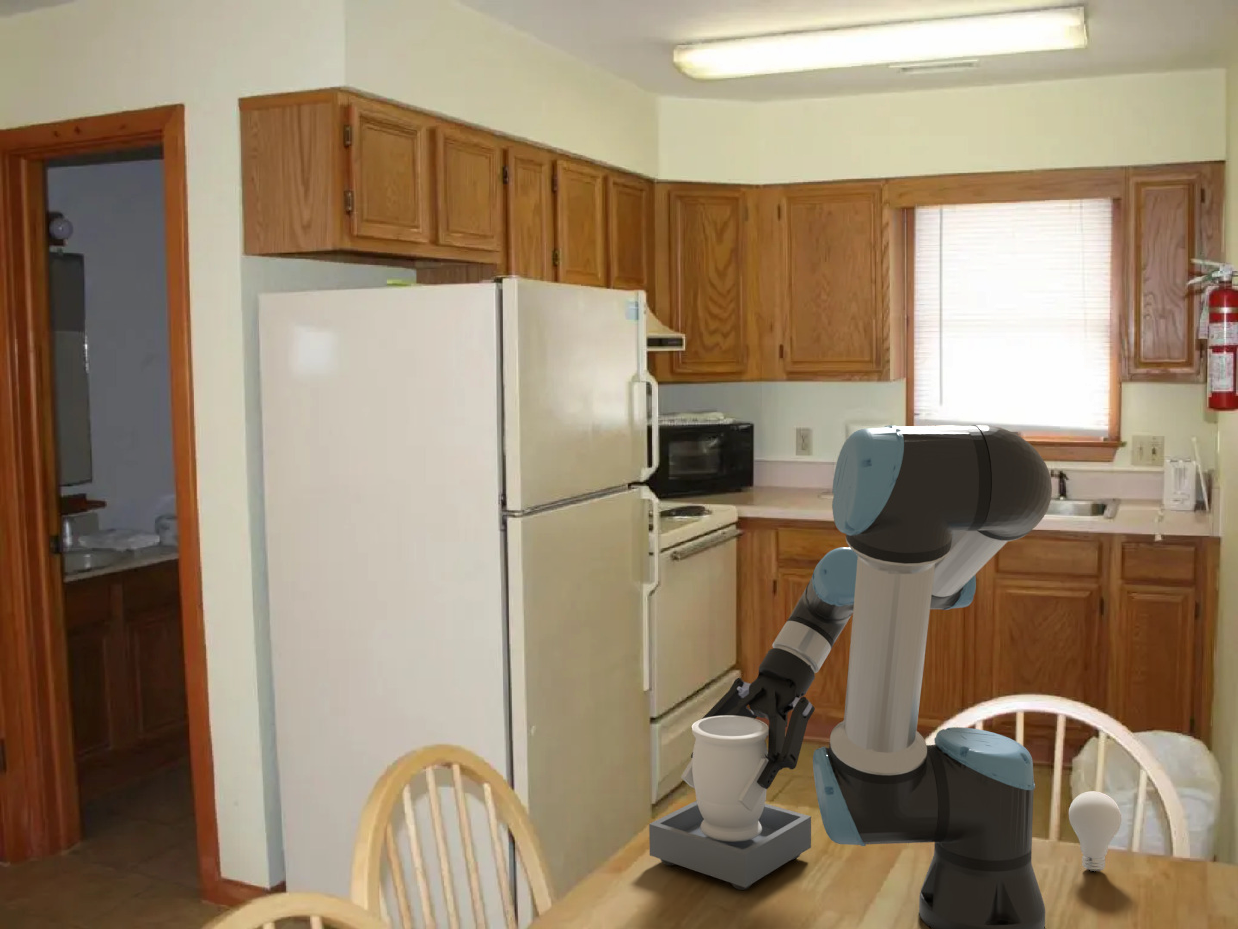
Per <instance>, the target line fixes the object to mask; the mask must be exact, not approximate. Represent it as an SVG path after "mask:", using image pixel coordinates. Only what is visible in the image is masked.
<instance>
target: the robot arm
mask: <svg viewBox="0 0 1238 929" xmlns="http://www.w3.org/2000/svg"><path fill="white" fill-rule="evenodd" d="M831 493H832V494H833V498H832V504H831V506H832V507H831V508H832V515H833V516H832V517H833V520H834V524H835V526H836V529H838V530H837V531H839V532H840V533H842V534H845V542H846V544H847V546H848V547H844V546H842V547H837V548H834V549H832V550H830V551H828V552H827V553H826V554H825V555H824V556H823V558H821V559H820V560H819V562H818V563H817V564H816V566H815V568H814V570H813V573H812V576H811V577H810V580H809V581H808V582H807V585H806V587H805V589H804V591H803V592H802V594H801V596H800V598H799V600H798V601H797V603H796V604H795V607H794V608H793V610H792V612H791V614H790V615H789V617H788V619H786V622H785V623H784V625H783V627H782V628H781V630H780V631H779V633H778V635H777V636H776V637H775V640H774V641H773V643H771V644H772V648H770V649H768V651H767V653H766V655H765V656H764V658H763V660H762V661H761V663H760V665H759V666H758V674H757V677H756V679H754V680H753V681H752V682H751V683H749V682H746V681H744V680H743V679H742V678H740V677H737V678H736V679H734V680H733V683H732V685H731V686H730V688H729V690H728V691H726V693H724V695H723V696H722V697H721V698H720V699H719V700H718V701H717V702H716V703H715V704H714V705H713V706H712V707H711V709H709V710H708V712H706V714H704V716H703V717H702V718H701V719H703V718H707V717H713V716H726V715H731V716H744V717H750V718H754V719H757V718H761V719H767V720H768V729H769V734H768V738H767V739H768V742H767V744H768V745H767V750H768V754H767V756H768V757H767V756H766V755H765V757H766V758H767V759H768V760H769V761H768V762H767V760H766V759H763V758H761V760H760V762H759V763H758V765H757V767H756V768H755V770H754V772H753V774H752V775H751V777H750V779H749V780H748V782H747V784H746V786H745V787H744V789H743V791H742V793H741V794H740V796H739V798H738V799H737V800H738V801H739V802H740V803H741V804H742V805H743V806H744V807H745V808H746V809H747V810H750V811H752V810H753V808H754V806H755V805H756V803H757V801H758V799H759V798H760V796H761V794H762V792H763V791H764V789H767V790H768V789H769V788H771V786H772V783H773V782H774V780H775V779H776V777H777V774H779V772H780V771H781V770H783V769H789V770H791V771H793V770H794V769H795V768H796V767H797V765H798V761H799V757H800V754H801V749H802V746H803V741H804V737H805V734H806V730H807V726H808V722H809V720H810V718H811V717H812V715H813V714H814V712H815V709H816V708H815V706H814V705H813V704H812V703H811V702H810V701H809V699H808V698H807V697H806V696H805V695H806V694H807V692H808V691H809V688H810V687H811V685H812V684H813V682H814V680H815V678H816V675H815V674H816V673H818V672H819V671H820V669H821V667H822V666H823V664H824V662H825V660H826V659H827V657H828V655H829V654H830V652H831V650H832V649H833V646H834V644H835V643H836V641H837V640H838V638H839V636H840V635H841V633H842V631H843V630H844V629H845V626H846V625H847V623H848V622H849V619H851V616H852V619H851V634H850V646H849V656H848V657H849V658H848V667H847V668H848V669H847V670H848V671H847V679H846V680H847V682H846V691H845V694H846V695H845V704H844V706H845V707H844V716H843V721H841V722H839V723H837V725H835V727H834V728H833V729H832V730H831V732H830V733H831V734H830V736H829V746H828V747H827V746H821V747H820V748H815V750H814V751H813V755H812V768H813V777H814V785H815V786H814V787H815V790H816V792H815V793H816V797H817V798H816V799H817V802H818V803H817V804H818V808H819V811H820V813H819V814H820V816H821V821H822V825H823V828H824V830H825V833H826V835H827V837H828V838H829V839H830V840H831V841H832V842H834V843H835V844H837V845H850V846H852V845H853V846H861V847H866V846H867V845H888V844H889V845H891V844H914V843H915V844H918V843H919V844H921V843H922V844H923V843H924V844H925V843H926V844H927V843H934V844H933V845H934V851H933V856H932V857H931V858H932V859H931V861H930V865H929V866H928V869H927V872H926V875H925V878H924V879H923V883H922V886H921V888H920V891H919V899H918V900H919V901H918V902H919V906H918V907H919V909H918V911H919V912H918V913H919V916H920V918H921V920H922V922H924V924H926V926H928V927H929V926H930V927H931V929H932V928H933V929H1045V928H1044V927H1046V906H1045V903H1044V899H1043V895H1042V893H1041V889H1040V887H1039V883H1038V880H1037V876H1036V874H1035V871H1034V868H1033V864H1032V861H1033V860H1032V852H1033V851H1032V850H1033V849H1032V848H1033V819H1034V818H1033V816H1034V815H1033V814H1034V812H1033V811H1034V792H1035V791H1034V790H1035V788H1036V784H1035V782H1034V780H1035V779H1034V761H1033V758H1032V755H1031V753H1030V752H1029V750H1028V749H1027V748H1026V747H1025V746H1023V745H1022V744H1021V743H1019V742H1017V740H1014V739H1012V738H1010V737H1007V736H1005V735H1003V734H999V733H995V732H991V731H988V730H983V729H979V728H971V727H960V726H959V727H957V726H956V727H953V726H952V727H947V728H942V729H940V730H939V731H937V733H936V735H935V737H934V740H933V741H934V744H927V743H926V742H927V741H926V740H925V738H924V737H923V736H922V735H921V733H920V732H919V731H917V729H918V720H919V709H920V703H921V702H920V701H921V693H922V692H921V691H922V684H923V675H924V667H925V658H926V656H925V655H926V647H927V640H928V630H929V629H928V628H929V621H930V612H931V610H942V611H948V610H951V609H959V608H967V607H968V606H970V605H971V603H972V602H973V600H974V596H975V594H976V590H977V579H976V577H977V576H976V574H977V573H978V572H979V571H980V570H981V569H982V568H983V567H984V566H985V565H986V564H987V563H988V562H989V561H990V560H991V559H992V558H993V557H994V556H995V555H996V554H997V553H998V552H999V551H1000V550H1001V549H1002V548H1003V547H1004V546H1005V545H1006V544H1007V543H1008V542H1012V541H1015V540H1019V539H1021V538H1023V537H1025V536H1027V535H1028V534H1029V533H1031V531H1033V530H1034V528H1036V527H1037V526H1038V524H1039V523H1041V521H1042V520H1043V518H1044V517H1045V515H1046V514H1047V512H1048V510H1049V506H1050V505H1051V501H1052V495H1053V494H1052V493H1053V484H1052V478H1051V474H1050V471H1049V468H1048V466H1047V464H1046V462H1045V461H1044V458H1043V457H1042V456H1041V454H1040V453H1039V451H1038V450H1037V449H1036V448H1035V447H1034V446H1033V445H1032V444H1031V443H1029V442H1028V441H1027V440H1026V439H1024V438H1023V437H1021V436H1020V435H1018V434H1016V433H1014V432H1013V431H1011V430H1008V429H1005V428H1002V427H999V426H993V425H988V424H972V425H936V426H935V425H929V426H928V425H925V426H924V425H923V426H922V425H921V426H918V425H917V426H916V425H915V426H897V425H895V424H893V425H892V424H891V425H885V426H883V427H882V426H881V427H871V428H860V429H858V430H856V431H854V432H853V433H851V434H850V435H849V436H848V438H847V439H846V440H845V441H844V443H843V444H842V447H841V449H840V451H839V454H838V457H837V461H836V465H835V470H834V474H833V480H832V492H831ZM748 706H749V707H748ZM790 712H791V715H790V718H789V717H788V715H789V714H788V713H790ZM788 718H789V720H788ZM786 728H787V730H786ZM692 758H693V751H692V753H691V755H690V759H691V760H690V761H689V762H688V764H687V766H686V767H685V769H684V770H683V773H682V774H681V775H680V778H681V780H683V781H684V782H685V783H686V784H688V786H689V787H690V788H693V789H695V787H694V782H693V774H692ZM930 927H929V928H930Z"/></svg>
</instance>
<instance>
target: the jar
mask: <svg viewBox="0 0 1238 929" xmlns="http://www.w3.org/2000/svg"><path fill="white" fill-rule="evenodd" d="M702 718H703V717H702ZM702 718H701V719H698V720H696V721H694V722H693V723H692V725H691V728H692V729H691V733H692V736H694V738H695V741H694V746H693V749H692V752H693V758H691V759H692V774H693V782H694V787H695V788H694V790H695V798H696V801H697V804H698V807H699V810H700V813H701V815H702V817H703V818H704V820H703V821H702V823H701V826H700V829H701V831H702V833H703V834H704V835H706V836H708V837H710V838H712V839H715V840H720V841H727V842H739V841H746V840H750V839H753V838H755V837H757V836H758V835H759V834H760V833H761V831H762V826H761V824H760V822H759V821H758V820H759V818H760V816H761V814H762V812H763V809H764V806H765V804H766V801H767V790H768V789H764V791H763V792H762V794H761V796H760V798H759V799H758V801H757V803H756V805H755V806H754V808H753V810H752V811H750V810H747V809H746V808H745V807H744V806H743V805H742V804H741V803H740V802H739V801H738V800H737V799H738V798H739V796H740V794H741V793H742V791H743V789H744V787H745V786H746V784H747V782H748V780H749V779H750V777H751V775H752V774H753V772H754V770H755V768H756V767H757V765H758V763H759V762H760V760H761V758H763V759H766V760H767V762H768V761H769V760H768V759H767V758H766V757H765V755H766V756H767V754H768V745H767V742H766V738H767V739H768V737H769V725H767V723H765V722H764V721H762V720H760V719H757V718H755V719H754V718H750V717H744V716H731V715H726V716H713V717H707V718H703V719H702ZM767 757H768V756H767Z"/></svg>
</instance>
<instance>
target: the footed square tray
mask: <svg viewBox="0 0 1238 929" xmlns="http://www.w3.org/2000/svg"><path fill="white" fill-rule="evenodd" d="M703 820H704V818H703V817H702V815H701V813H700V810H699V807H698V804H697V800H695V801H693V802H690V803H689V804H687V805H685V806H682V807H681V808H678V809H677V810H676V809H675V811H672V812H670V813H669V814H666V815H665V816H662V817H661V818H658V819H656V820H654V821H652V822H651V823H648V824H649V826H648V828H649V833H648V834H649V837H648V839H649V856H651V857H654V858H657V859H660V861H661V863H662V864H664V865H665V866H667V867H668V866H669V867H670V866H675V865H678V866H680V867H684V868H687V869H689V870H692V871H695V872H698V873H701V874H704V875H707V876H711V877H713V878H716V879H719V880H721V881H725V882H727V883H730V884H731V885H732V886H733V887H734V888H735V889H736V890H738V891H746V890H748V889H750V887H751V886H752V884H754V883H756V882H757V881H758V880H760V879H762V878H763V877H765V876H767V875H769V874H770V873H772V872H773V871H775V870H777V869H778V868H780V867H782V866H783V865H785V864H787V863H788V862H790V861H792V860H796V859H798V858H799V857H800V856H801V854H803V853H804V852H806V851H808V850H809V849H811V848H812V816H811V815H807V814H804V813H801V812H800V813H799V812H798V811H797V812H796V811H793V810H789V809H785V808H782V807H778V806H776V805H773V804H772V805H771V804H768V803H765V806H764V809H763V812H762V814H761V816H760V818H759V820H758V821H759V822H760V824H761V826H762V831H761V833H760V834H759V835H758V836H757V837H755V838H753V839H750V840H746V841H739V842H727V841H720V840H715V839H712V838H710V837H708V836H706V835H704V834H703V833H702V831H701V829H700V826H701V823H702V821H703Z"/></svg>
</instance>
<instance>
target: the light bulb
mask: <svg viewBox="0 0 1238 929" xmlns="http://www.w3.org/2000/svg"><path fill="white" fill-rule="evenodd" d="M1069 806H1070V807H1069V809H1068V819H1069V823H1070V826H1071V827H1072V830H1073V831H1074V832H1075V835H1076V837H1077V838H1078V841H1079V845H1080V852H1081V853H1082V856H1081V866H1082V867H1083V868H1084V869H1086V870H1088V871H1089V870H1090V872H1092V871H1094V872H1093V873H1096V872H1095V871H1097V872H1101V871H1103V870H1104V868H1105V867H1106V856H1107V854H1108V852H1109V851H1108V850H1109V847H1110V846H1109V845H1110V844H1111V842H1112V840H1113V839H1114V837H1115V836H1116V835H1117V833H1118V832H1119V831H1120V828H1121V825H1122V813H1121V809H1120V808H1119V806H1118V804H1117V802H1116V801H1115V800H1114V799H1113V798H1112V797H1110V796H1109V795H1107V794H1105V793H1103V792H1100V791H1093V790H1090V791H1085V792H1082V793H1080V794H1078V795H1077V796H1076V797H1075V798H1074V799H1073V800H1072V801H1071V803H1070V805H1069Z"/></svg>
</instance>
